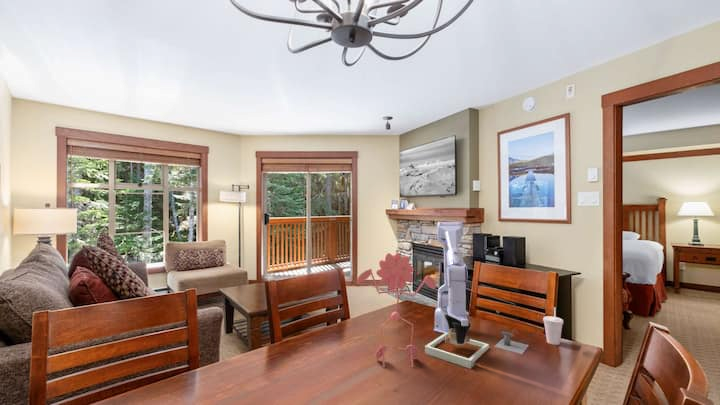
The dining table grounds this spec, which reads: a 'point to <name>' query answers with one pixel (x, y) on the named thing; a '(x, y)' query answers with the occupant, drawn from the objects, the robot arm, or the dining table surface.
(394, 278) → the figurine
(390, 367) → the dining table surface
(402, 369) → the dining table surface
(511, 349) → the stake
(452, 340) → the collar
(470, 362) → the tray
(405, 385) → the dining table surface
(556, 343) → the smoothie
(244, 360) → the dining table surface
